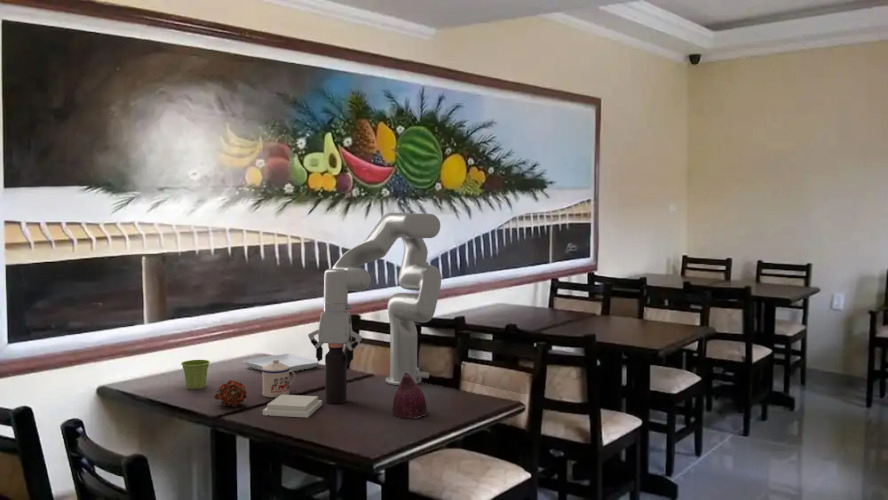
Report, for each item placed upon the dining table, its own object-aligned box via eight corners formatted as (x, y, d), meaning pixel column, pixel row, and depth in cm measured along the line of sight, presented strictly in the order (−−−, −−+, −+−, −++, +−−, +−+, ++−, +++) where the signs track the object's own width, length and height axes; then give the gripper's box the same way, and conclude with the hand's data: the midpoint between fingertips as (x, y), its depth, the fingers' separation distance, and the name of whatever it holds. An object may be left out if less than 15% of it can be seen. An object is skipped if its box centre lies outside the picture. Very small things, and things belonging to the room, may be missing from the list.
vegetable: (414, 431, 226) (412, 386, 221) (385, 420, 231) (383, 376, 226) (433, 414, 234) (433, 370, 229) (406, 404, 240) (404, 362, 235)
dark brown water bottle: (328, 398, 249) (328, 337, 248) (348, 399, 249) (348, 337, 247) (322, 403, 243) (322, 341, 241) (343, 404, 242) (343, 341, 241)
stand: (322, 405, 241) (322, 395, 241) (307, 417, 227) (307, 407, 227) (279, 402, 243) (279, 393, 243) (262, 415, 229) (262, 405, 229)
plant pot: (175, 389, 260) (175, 363, 259) (194, 383, 268) (193, 358, 268) (197, 391, 256) (197, 366, 255) (216, 385, 265) (215, 360, 264)
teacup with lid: (271, 399, 247) (271, 363, 246) (256, 394, 254) (256, 359, 253) (302, 393, 256) (302, 358, 255) (287, 388, 262) (287, 354, 261)
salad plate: (321, 369, 293) (321, 360, 292) (273, 378, 277) (273, 369, 277) (288, 361, 307) (288, 352, 307) (241, 369, 292) (241, 360, 292)
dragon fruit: (240, 415, 235) (221, 412, 244) (258, 394, 240) (239, 393, 249) (223, 395, 232) (204, 393, 240) (242, 375, 237) (223, 374, 245)
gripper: (365, 307, 246) (363, 360, 247) (312, 305, 249) (312, 357, 249) (359, 310, 239) (357, 365, 239) (305, 308, 241) (304, 362, 242)
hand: (334, 361), depth 244 cm, fingers open, 9 cm apart
